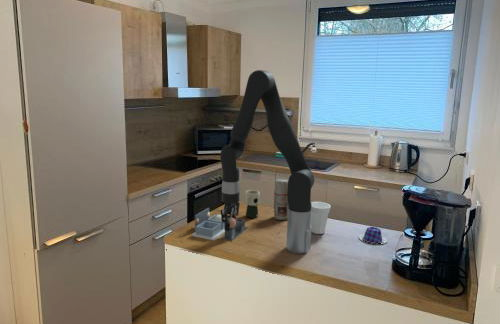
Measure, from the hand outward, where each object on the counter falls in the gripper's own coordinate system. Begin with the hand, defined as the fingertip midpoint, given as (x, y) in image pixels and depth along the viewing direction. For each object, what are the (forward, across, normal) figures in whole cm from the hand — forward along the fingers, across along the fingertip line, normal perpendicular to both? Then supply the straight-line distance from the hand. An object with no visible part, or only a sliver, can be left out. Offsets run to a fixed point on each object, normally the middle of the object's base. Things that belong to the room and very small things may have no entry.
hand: (230, 228), depth 171 cm
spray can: (+4, +34, -12) cm, 36 cm away
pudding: (+5, +27, -57) cm, 63 cm away
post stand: (+4, +5, 0) cm, 7 cm away
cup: (+4, +24, -33) cm, 41 cm away
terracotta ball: (-3, 0, 0) cm, 3 cm away
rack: (+4, +4, +10) cm, 12 cm away
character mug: (+4, +29, +2) cm, 29 cm away
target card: (+4, +4, +16) cm, 17 cm away
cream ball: (+1, +9, +10) cm, 13 cm away
